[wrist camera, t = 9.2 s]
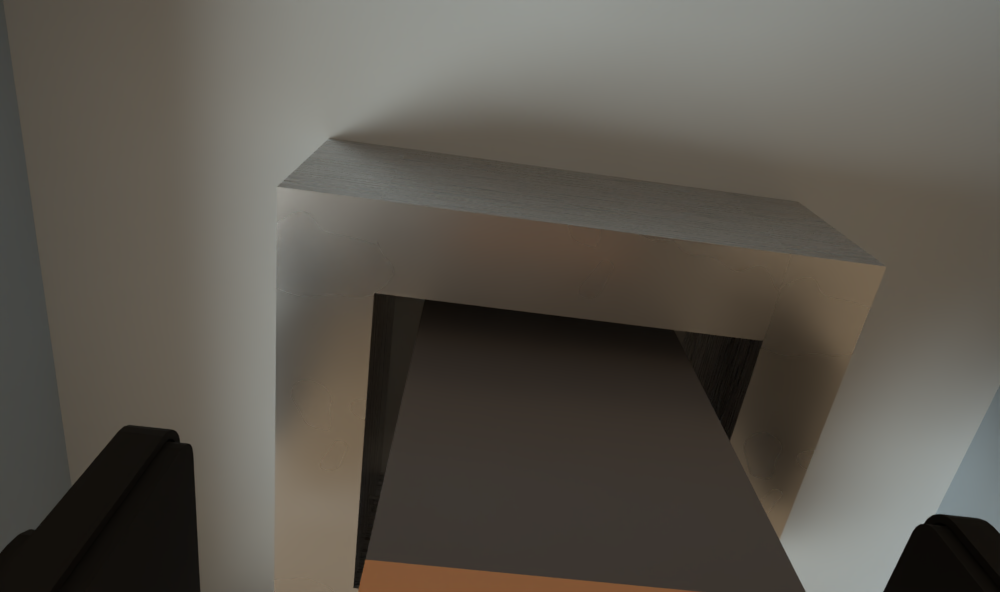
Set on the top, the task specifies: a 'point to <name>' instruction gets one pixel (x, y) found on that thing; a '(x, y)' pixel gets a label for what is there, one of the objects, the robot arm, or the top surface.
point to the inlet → (538, 289)
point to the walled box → (494, 136)
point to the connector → (563, 466)
